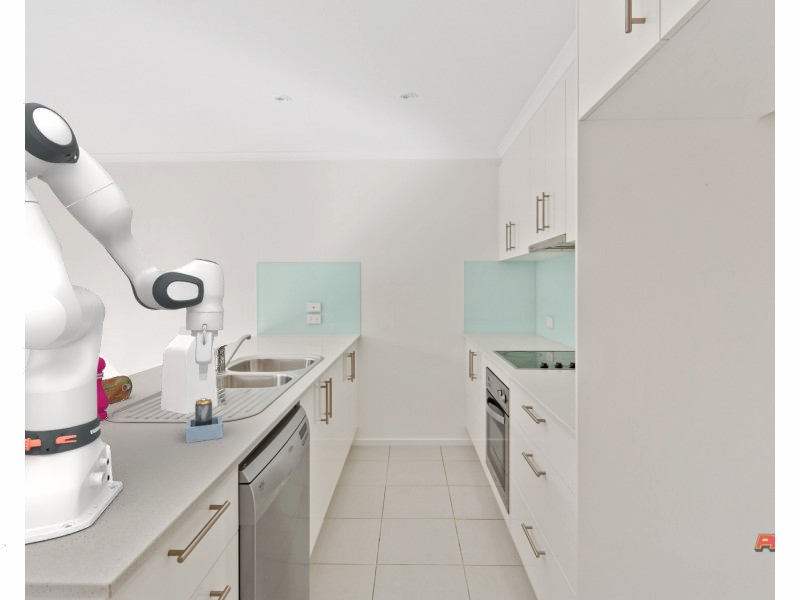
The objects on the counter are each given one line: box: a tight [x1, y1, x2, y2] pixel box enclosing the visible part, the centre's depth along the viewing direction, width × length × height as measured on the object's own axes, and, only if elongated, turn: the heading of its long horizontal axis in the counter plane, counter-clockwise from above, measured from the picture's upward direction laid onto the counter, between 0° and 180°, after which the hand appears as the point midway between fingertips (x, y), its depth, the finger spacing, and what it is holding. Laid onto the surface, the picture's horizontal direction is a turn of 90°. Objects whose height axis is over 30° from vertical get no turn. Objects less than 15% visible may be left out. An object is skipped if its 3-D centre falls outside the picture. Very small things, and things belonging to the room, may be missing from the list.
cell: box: [194, 398, 213, 426], centre depth 115 cm, size 4×4×9 cm
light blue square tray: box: [185, 415, 224, 444], centre depth 115 cm, size 8×8×4 cm
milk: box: [160, 325, 219, 415], centre depth 141 cm, size 12×12×26 cm
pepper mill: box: [97, 356, 110, 421], centre depth 128 cm, size 7×7×20 cm
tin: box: [102, 375, 133, 405], centre depth 147 cm, size 15×3×8 cm, turn 167°
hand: (203, 376), depth 114 cm, fingers open, 8 cm apart
